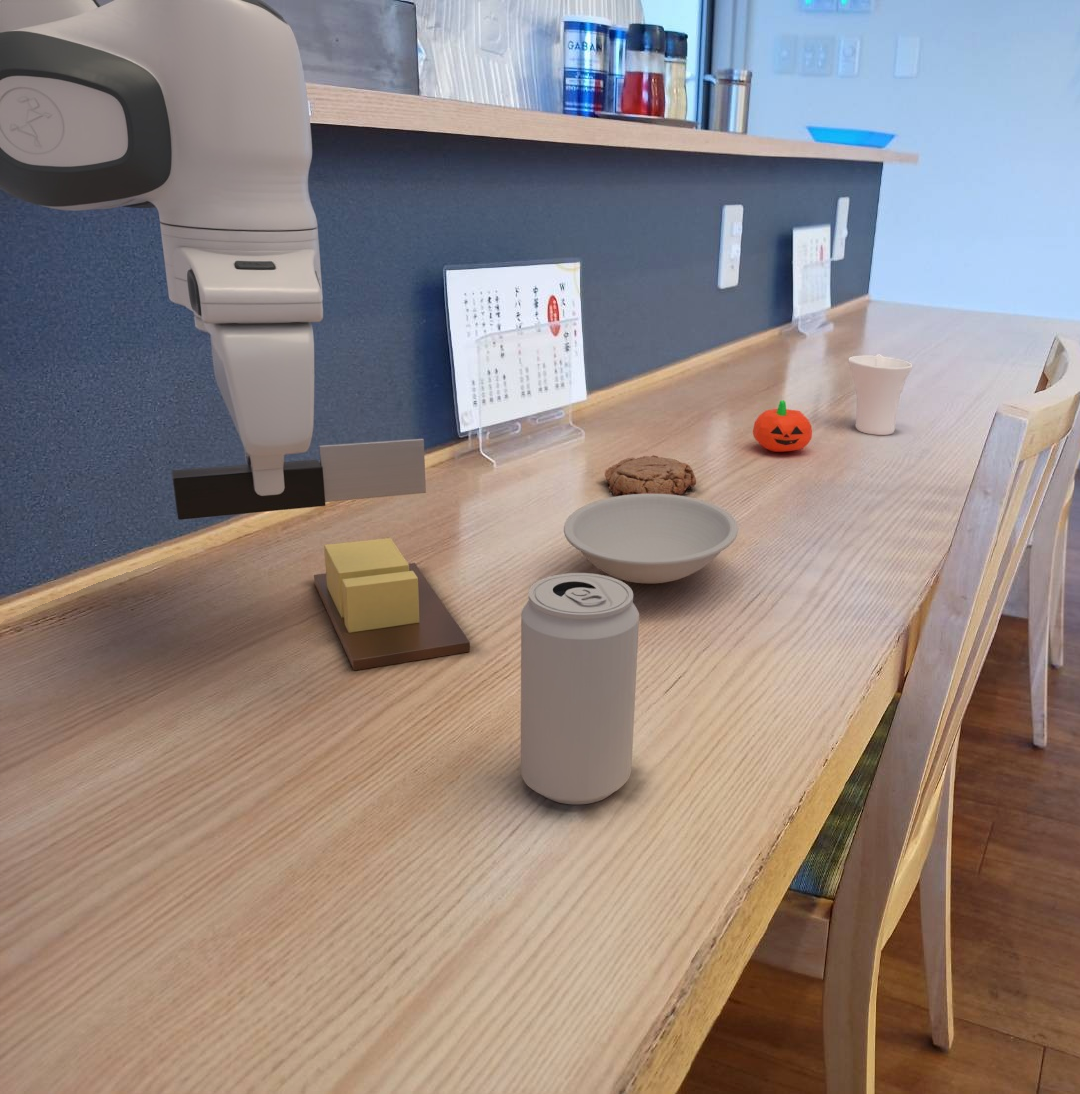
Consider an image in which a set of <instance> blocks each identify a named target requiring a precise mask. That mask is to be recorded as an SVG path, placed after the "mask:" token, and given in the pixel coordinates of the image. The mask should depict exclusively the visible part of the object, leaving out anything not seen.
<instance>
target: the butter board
mask: <svg viewBox="0 0 1080 1094" xmlns="http://www.w3.org/2000/svg"><path fill="white" fill-rule="evenodd" d="M408 564H409V571H413V572H414V573H415V575H416V576H417V578H418V596H419V623H413V624H406V625H400V626H393V627H386V628H379V629H372V630H365V631H358V632H352V633H349V632H348V630H347V628H346V626H345V621H344V618H342V617H341V615H340V613H339V611H338V609H337V607H336V605H335V603H334V601H333V599H332V597H331V595H330V592H329V590H328V588H327V579H326V572H325V573H317V574H314V575H313V583H314V586H315V588H316V590H317V592H318V594H319V596H320V599H321V601H322V603H323V606H324V608H325V610H326V613H327V615H328V617H329V619H330V621H331V624H332V625H333V627H334V630H335V632H336V633H337V634H336V635H337V636H338V639H339V641H340V643H341V644H342V647H343V649H344V653H345V654H346V656H347V658H348V660H349V663H350V665H351V667H352V669H353V671H359V670H365V669H371V668H378V667H385V666H391V665H396V664H403V663H409V662H415V661H421V660H428V659H433V658H439V657H446V656H451V655H457V654H463V653H470V652H471V642H470V640H469V639H468V637H467V636H466V634H465V633H464V632H463V630H462V629H461V627H460V626H459V624H458V623H457V621H456V620H455V619H454V617H453V616H452V614H451V613H450V610H448V609H447V607H446V606H445V604H444V603H443V601H442V600H441V598H440V597H439V595H438V594H437V593H436V591H435V590H434V588H433V587H432V585H431V583H429V581H428V580H427V578H426V576H425V575H424V573H422V571H421V569H420V568H419V567H418V565H417V564H416V562H410V563H408Z"/></svg>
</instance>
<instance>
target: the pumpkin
mask: <svg viewBox="0 0 1080 1094" xmlns="http://www.w3.org/2000/svg"><path fill="white" fill-rule="evenodd" d="M752 435H753V437H754V439H755V441H756V442H757V443H758V444H759V445H760V446H761V447H762V448H765V449H766V450H768V451H770V452H773V453H776V452H777V453H781V452H793V451H797V450H804V448H806V446H808V444H809V443H810V441H811V440H812V438H813V429H812V425H811V422H810V420H809V419H808V418H807V417H806V416H805V414H804V413H803V412H802V411H801V410H795V409H789V408H787V405H786V401H785V400H780V401H779V404H778V407H777V408H773V409H767V410H765V411H763V412H762V413H760V415H758V416H757V418H756V420H755V421H754V424H753V429H752Z"/></svg>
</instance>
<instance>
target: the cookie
mask: <svg viewBox="0 0 1080 1094" xmlns="http://www.w3.org/2000/svg"><path fill="white" fill-rule="evenodd" d="M694 473H695V472H694V470H693V468H692V467H691V466H690V464H688V463H686V462H681V461H679V460H677V459H675V458H672V457H671V458H670V457H664V456H658V455H654V454H653V455H651V456H650V455H649V456H648V455H643V456H640V457H636V458H635V457H627V458H623V459H622V460H620V461H619V462H618V463H615V464H612V466H609V467H608V469H605V471H604V477H605V480H606V483H607V484H608V486H609V487H608V490H610V492H611V493H612V494H613V496H614V497H616V496H622V495H631V494H671V495H680V496H682V494H684V493H685V491H686V490H687V489H688V488H689V486H690V487H695V486H696V485H697V479H696V478H697V477H696V475H695V474H694Z"/></svg>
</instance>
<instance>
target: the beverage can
mask: <svg viewBox="0 0 1080 1094" xmlns="http://www.w3.org/2000/svg"><path fill="white" fill-rule="evenodd" d="M633 601H634V591H633V590H632V588H631V587H630V586H629V585H628V584H626V583H625V582H623V580H621V579H618V578H616V577H613V576H609V575H604V574H598V573H591V572H567V573H559V574H554V575H551V576H547V577H544V578H542V579H539V580H537V581H536V582H534V583H533V584H532V585H531V586H530V587H529V589H528V600H527V602H526V603H525V605H524V606H523V608H522V610H521V612H520V614H521V615H520V633H521V634H520V753H519V754H520V756H519V757H520V766H519V767H520V769H519V771H520V776H521V778H522V780H523V782H524V783H525V785H527V787H529V789H531V790H533V791H534V792H536V793H538V794H539V795H541V796H543V797H545V798H546V799H549V800H550V801H553V802H556V803H560V804H565V805H573V806H574V805H588V804H594V803H597V802H600V801H602V800H605V799H606V798H609V797H610V796H611V795H612V794H613V793H615V792H617V791H618V790H619V789H621V788H622V787H623V786H625V784H626V783H627V781H628V780H629V778H630V776H631V774H632V768H633V767H632V766H633V748H634V747H633V746H634V727H635V726H634V725H635V710H636V709H635V707H636V687H637V671H638V670H637V667H638V649H639V648H638V647H639V629H640V612H639V610H638V608H637V606H636V605H635V603H634V602H633Z"/></svg>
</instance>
